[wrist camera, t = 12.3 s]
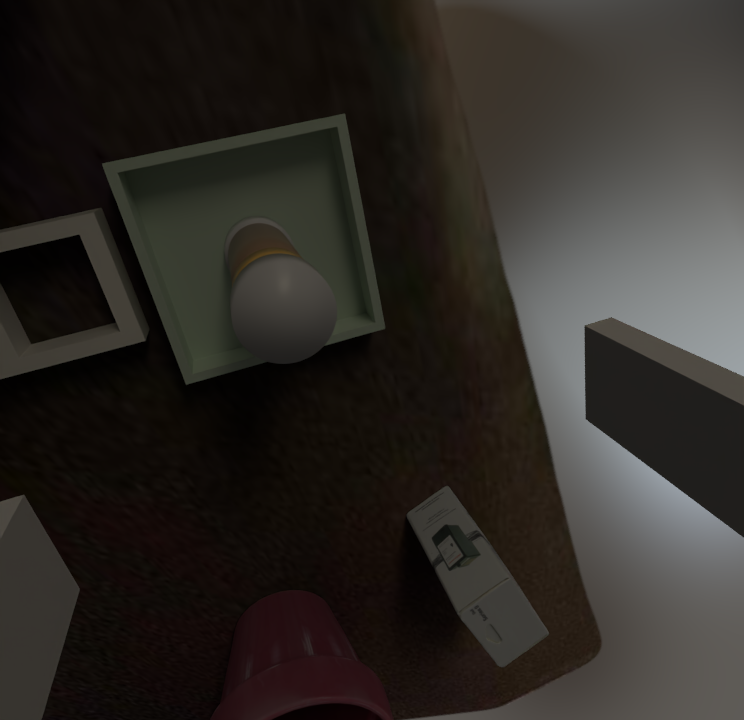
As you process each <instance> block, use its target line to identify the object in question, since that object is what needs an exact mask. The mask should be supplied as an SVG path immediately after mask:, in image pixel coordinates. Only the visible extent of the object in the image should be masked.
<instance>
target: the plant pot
mask: <svg viewBox="0 0 744 720" xmlns="http://www.w3.org/2000/svg"><path fill="white" fill-rule="evenodd" d="M210 720H394V719H393V716H392V712H391V709H390V705H389V702H388V699H387V696H386V693H385V690H384V688H383V685H382V683H381V681H380V679H379V678H378V676H377V675H376V674H375V673H374V672H373V671H372V670H371V669H370V668H369V667H367V666H366V665H364V664H362V663H361V662H360V660H359V658H358V656H357V654H356V653H355V651H354V649H353V647H352V645H351V643H350V642H349V640H348V638H347V636H346V634H345V633H344V631H343V629H342V627H341V626H340V624H339V622H338V621H337V619H336V617H335V616H334V614H333V612H332V611H331V609H330V607H329V605H328V604H327V603H326V601H325V600H323V599H322V598H321V597H319V596H318V595H316V594H314V593H311V592H307V591H302V590H288V591H281V592H277V593H274V594H271V595H268V596H266V597H264V598H262V599H260V600H258V601H257V602H256V603H254V604H253V605H251V606H250V607H249V608H248V609H247V610H246V611H245V612H244V613H243V615H242V616H241V617H240V619H239V621H238V622H237V625H236V627H235V631H234V636H233V642H232V648H231V653H230V658H229V662H228V667H227V672H226V677H225V682H224V687H223V692H222V697H221V702H220V704H219V706H218V707H217V708H216V710H215V711H214V713H213V715H212V717H211V719H210Z"/></svg>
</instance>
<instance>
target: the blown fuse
mask: <svg viewBox="0 0 744 720" xmlns="http://www.w3.org/2000/svg"><path fill="white" fill-rule="evenodd" d="M224 253H225V260H226V264H227V267H228V269H229V271H230V274H231V281H232V289H231V294H230V309H231V318H232V325H233V329H234V331H235V334H236V336H237V338H238V340H239V341H240V343H241V344H242V345H243V347H245V348H246V349H247V350H248V351H249V352H250V353H251V354H253V355H254V356H256V357H258V358H259V359H262V360H264V361H267V362H271V363H277V364H289V363H295V362H299V361H302V360H305V359H307V358H309V357H311V356H312V355H314V354H315V353H317V352H318V351H319V350H320V349H321V348H322V347H323V346H324V345H325V344H326V343H327V341H328V340H329V339H330V337H331V335H332V333H333V331H334V328H335V324H336V320H337V305H336V300H335V297H334V294H333V292H332V290H331V288H330V286H329V285H328V283H327V282H326V281H325V280H324V278H323V277H322V276H321V275H320V273H319V272H318V271H317V270H316V269H315V268H314V267H313V266H312V265H311V264H310V263H308V262H307V261H305V260H304V259H303V258H302V257H301V256H300V254H299V253H298V252H297V250H296V249H295V248H294V245H293V242H292V240H291V238H290V236H289V235H288V234H287V232H286V231H285V230H284V229H283V227H282V226H281V225H280V224H279V223H277V222H276V221H274V220H272V219H270V218H268V217H264V216H249V217H246V218H243V219H241V220H239V221H238V222H236V223H235V224H234V225H233V226H232V227H231V228H230V230H229V231H228V233H227V236H226V238H225V243H224Z"/></svg>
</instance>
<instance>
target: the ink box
mask: <svg viewBox="0 0 744 720" xmlns="http://www.w3.org/2000/svg"><path fill="white" fill-rule="evenodd" d="M406 517H407V519H408V521H409V523H410V524H411V526H412V528H413V530H414V532H415V534H416V536H417V538H418V540H419V542H420V544H421V545H422V547H423V549H424V551H425V553H426V555H427V557H428V559H429V561H430V563H431V565H432V566H433V568H434V570H435V572H436V574H437V576H438V578H439V580H440V582H441V584H442V586H443V588H444V590H445V591H446V593H447V595H448V597H449V599H450V601H451V603H452V605H453V607H454V609H455V611H456V613H457V614H458V616H459V617H460V619H461V620H462V621H463V622H464V623H465V625H466V626H467V627H468V628H469V630H470V631H471V632H472V633H473V635H474V636H475V637H476V638H477V640H478V641H479V642H480V643H481V645H482V646H483V647H484V649H485V650H486V651H487V652H488V654H489V655H490V656H491V657H492V659H493V660H494V661H495V663H496V664H497V665H498V666H499V667H505V666H506V665H508V664H509V663H510V662H512V661H513V660H514V659H516V658H517V657H518V656H520V655H521V654H523V653H524V652H526V651H527V650H528V649H530V648H531V647H533V646H534V645H535V644H537V643H538V642H540V641H541V640H542V639H543V638H545V637H546V636H548V635H549V632H548V630H547V629H546V627H545V626H544V624H543V623H542V621H541V620H540V618H539V617H538V615H537V614H536V612H535V610H534V609H533V607H532V606H531V604H530V603H529V601H528V600H527V598H526V596H525V595H524V593H523V592H522V590H521V589H520V587H519V585H518V584H517V583H516V581H515V580H514V578H513V577H512V575H511V574H510V572H509V571H508V569H507V568H506V566H505V565H504V563H503V562H502V560H501V559H500V557H499V556H498V554H497V553H496V551H495V550H494V549H493V547H492V546H491V544H490V543H489V541H488V540H487V539H486V537H485V536H484V534H483V533H482V532H481V530H480V529H479V527H478V526H477V525H476V523H475V522H474V521H473V519H472V518H471V516H470V515H469V514H468V512H467V511H466V510H465V508H464V507H463V505H462V504H461V503H460V501H459V500H458V499H457V497H456V496H455V494H454V493H453V492H452V490H451V489H450V488H449V487H448V486H445V487H444V488H442V489H441V490H439V491H438V492H436V493H435V494H433V495H432V496H431V497H429V498H428V499H426V500H425V501H424V502H422V503H421V504H420V505H418V506H417V507H415V508H414V509H412V510H411V511H409V512H408V513H407V515H406Z"/></svg>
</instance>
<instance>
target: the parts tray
mask: <svg viewBox="0 0 744 720" xmlns="http://www.w3.org/2000/svg"><path fill="white" fill-rule="evenodd" d="M102 166H103V168H104V171H105V174H106V176H107V179H108V181H109V184H110V187H111V189H112V192H113V194H114V197H115V200H116V202H117V205H118V208H119V210H120V213H121V215H122V218H123V221H124V223H125V226H126V229H127V231H128V234H129V236H130V239H131V242H132V244H133V247H134V250H135V252H136V255H137V257H138V260H139V263H140V265H141V268H142V271H143V273H144V276H145V278H146V281H147V284H148V286H149V289H150V291H151V294H152V297H153V299H154V302H155V305H156V307H157V310H158V312H159V315H160V318H161V320H162V323H163V326H164V328H165V331H166V333H167V336H168V339H169V341H170V344H171V347H172V349H173V352H174V354H175V357H176V360H177V362H178V365H179V367H180V370H181V373H182V375H183V378H184V381H185V383H186V385H187V384H190V383H194V382H198V381H201V380H205V379H208V378H212V377H215V376H219V375H222V374H226V373H229V372H233V371H237V370H240V369H244V368H247V367H251V366H254V365H258V364H261V363H265V362H267V361H264V360H262V359H259V358H258V357H256V356H254V355H253V354H251V353H250V352H249V351H248V350H247V349H246V348H245V347H243V345H242V344H241V343H240V341H239V340H238V338H237V336H236V334H235V331H234V329H233V325H232V318H231V309H230V294H231V289H232V281H231V274H230V271H229V269H228V267H227V264H226V260H225V253H224V243H225V238H226V236H227V233H228V231H229V230H230V228H231V227H232V226H233V225H234V224H235V223H236V222H238V221H239V220H241V219H243V218H246V217H249V216H264V217H268V218H270V219H272V220H274V221H276V222H277V223H279V224H280V225H281V226H282V227H283V229H284V230H285V231H286V232H287V234H288V235H289V236H290V238H291V240H292V242H293V245H294V248H295V249H296V250H297V252H298V253H299V254H300V256H301V257H302V258H303V259H304V260H305V261H307V262H308V263H310V264H311V265H312V266H313V267H314V268H315V269H316V270H317V271H318V272H319V273H320V275H321V276H322V277H323V278H324V280H325V281H326V282H327V283H328V285H329V286H330V288H331V290H332V292H333V294H334V297H335V300H336V305H337V320H336V324H335V328H334V331H333V333H332V335H331V337H330V339H329V340H328V341H327V343H326V344H325V345H329V344H332V343H336V342H339V341H343V340H346V339H350V338H354V337H357V336H361V335H364V334H368V333H371V332H375V331H378V330H382V329H385V324H384V319H383V313H382V308H381V303H380V297H379V292H378V287H377V281H376V276H375V271H374V266H373V260H372V255H371V250H370V244H369V239H368V234H367V228H366V223H365V218H364V212H363V207H362V202H361V196H360V191H359V186H358V181H357V175H356V170H355V165H354V159H353V154H352V149H351V143H350V138H349V133H348V127H347V122H346V117H345V114H341V115H336V116H331V117H326V118H321V119H316V120H312V121H307V122H302V123H297V124H292V125H287V126H282V127H278V128H273V129H268V130H263V131H258V132H253V133H248V134H244V135H239V136H234V137H229V138H224V139H219V140H214V141H210V142H205V143H200V144H195V145H190V146H185V147H180V148H176V149H171V150H166V151H161V152H156V153H151V154H146V155H142V156H137V157H132V158H127V159H122V160H117V161H113V162H108V163H103V164H102ZM325 345H324V346H325Z"/></svg>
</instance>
